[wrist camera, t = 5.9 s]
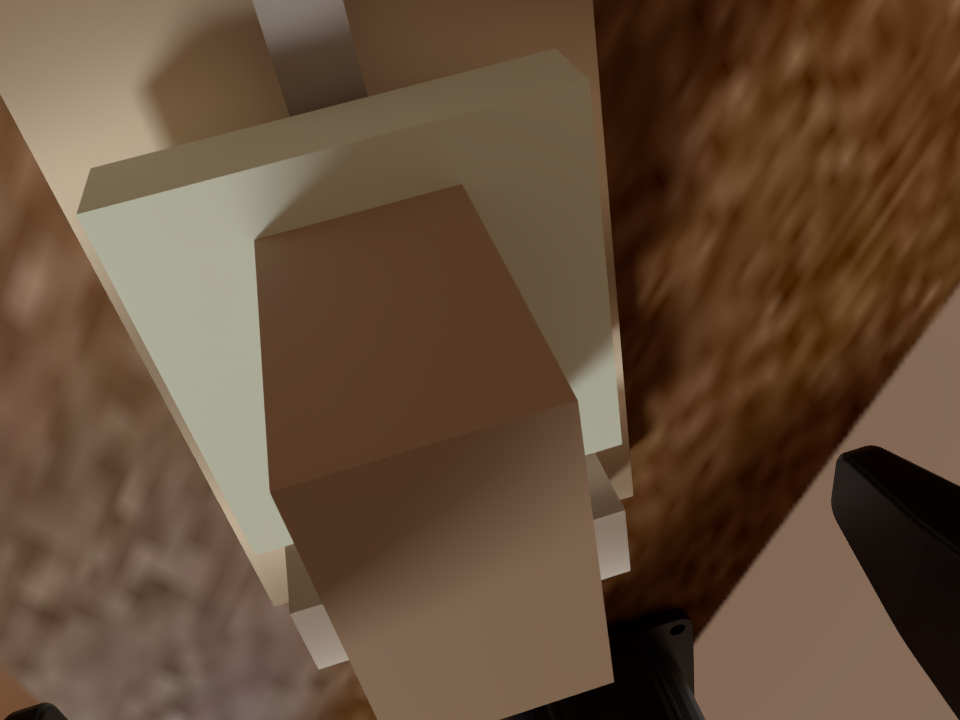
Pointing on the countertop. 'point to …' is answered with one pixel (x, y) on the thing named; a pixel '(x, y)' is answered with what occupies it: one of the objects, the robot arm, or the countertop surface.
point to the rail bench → (265, 98)
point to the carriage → (398, 367)
